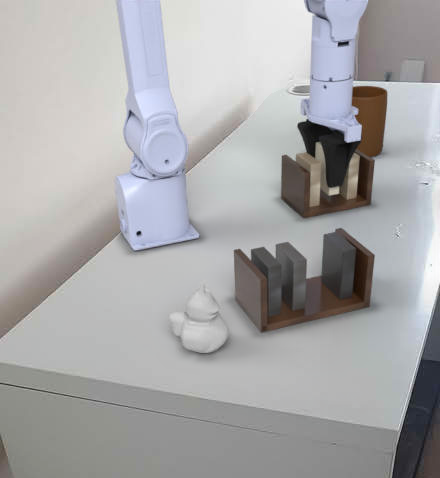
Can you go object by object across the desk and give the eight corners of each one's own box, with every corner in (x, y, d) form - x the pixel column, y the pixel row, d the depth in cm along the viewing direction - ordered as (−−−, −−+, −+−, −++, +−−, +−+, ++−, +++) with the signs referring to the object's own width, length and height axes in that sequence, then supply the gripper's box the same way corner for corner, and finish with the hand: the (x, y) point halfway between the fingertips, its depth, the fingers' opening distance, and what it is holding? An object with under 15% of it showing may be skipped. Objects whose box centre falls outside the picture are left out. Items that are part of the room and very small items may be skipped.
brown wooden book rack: (303, 218, 102) (305, 170, 98) (280, 199, 108) (281, 152, 103) (370, 205, 105) (375, 157, 100) (345, 186, 110) (348, 140, 106)
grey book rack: (261, 332, 80) (260, 276, 75) (235, 300, 85) (233, 246, 81) (369, 306, 83) (375, 251, 78) (337, 277, 89) (341, 224, 84)
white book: (329, 195, 103) (331, 152, 99) (313, 184, 107) (315, 142, 103) (339, 193, 104) (341, 150, 100) (323, 182, 107) (325, 140, 103)
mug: (307, 157, 121) (309, 97, 115) (315, 142, 126) (317, 84, 120) (380, 160, 118) (386, 98, 112) (384, 145, 123) (390, 85, 117)
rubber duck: (218, 365, 75) (214, 296, 70) (162, 354, 77) (154, 287, 72) (237, 339, 79) (234, 272, 74) (182, 329, 81) (176, 263, 76)
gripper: (386, 84, 91) (375, 191, 100) (333, 60, 101) (328, 159, 110) (336, 92, 89) (330, 200, 98) (288, 67, 100) (286, 167, 109)
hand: (326, 179), depth 104 cm, fingers closed on white book, 5 cm apart
